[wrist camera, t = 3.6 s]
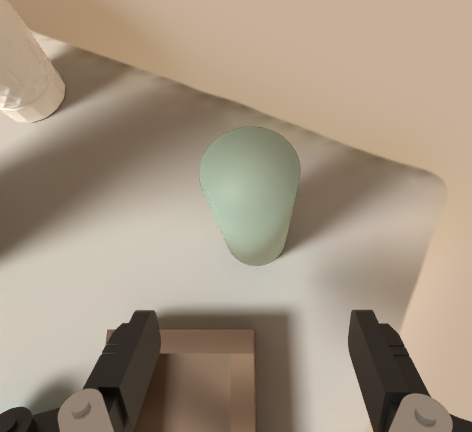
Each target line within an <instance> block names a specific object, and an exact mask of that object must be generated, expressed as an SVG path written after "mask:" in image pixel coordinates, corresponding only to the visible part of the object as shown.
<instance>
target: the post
mask: <svg viewBox="0 0 472 432" xmlns="http://www.w3.org/2000/svg"><path fill="white" fill-rule="evenodd" d="M199 178H200V184H201V187H202V190H203V192H204V194H205V196H206V199H207V201H208V203H209V205H210V208H211V210H212V212H213V214H214V216H215V219H216V221H217V223H218V225H219V228H220V230H221V232H222V234H223V237H224V239H225V241H226V243H227V246H228V248H229V250H230V252H231V253H232V255H233V256H234V257H235V258H236V259H238V260H239V261H240V262H242V263H244V264H247V265H252V266H261V265H265V264H268V263H270V262H272V261H273V260H275V259H276V258H277V257H278V256H279V255H280V254H281V252H282V251H283V249H284V246H285V243H286V239H287V234H288V230H289V225H290V221H291V216H292V212H293V207H294V203H295V198H296V194H297V189H298V185H299V180H300V162H299V158H298V155H297V153H296V151H295V150H294V148H293V146H292V145H291V144H290V143H289V142H288V141H287V140H286V139H285V138H284V137H282V136H281V135H279V134H278V133H276V132H274V131H272V130H269V129H265V128H261V127H242V128H237V129H234V130H231V131H229V132H227V133H224V134H223V135H221V136H220V137H218V138H217V139H216V140H215V141H214V142H213V143H212V144H211V145H210V146H209V147H208V149H207V150H206V152H205V153H204V155H203V158H202V160H201V164H200V170H199Z"/></svg>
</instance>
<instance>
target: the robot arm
mask: <svg viewBox="0 0 472 432" xmlns="http://www.w3.org/2000/svg"><path fill="white" fill-rule="evenodd" d="M348 347H349V353H350V357H351V360H352V363H353V367H354V370H355V373H356V376H357V379H358V383H359V386H360V389H361V392H362V396H363V399H364V402H365V405H366V409H367V412H368V415H369V418H370V422H371V425H372V428H373V431H374V432H472V422H470V421H467V420H464V419H461V418H458V417H455V416H453V415H451V414H449V413H448V411H447V410H446V409H445V408H444V406H443V405H441V404H440V403H439V402H438V401H436V400H435V399H433V398H431V396H430V395H429V393H428V391H427V389H426V387H425V385H424V383H423V381H422V379H421V377H420V375H419V373H418V371H417V369H416V368H415V365H414V363H413V362H412V359H411V358H410V357H409V354H408V352H407V350H406V348H405V347H404V344H403V342H402V340H401V338H400V336H399V334H398V333H397V332H396V331H395V330H394V329H393V328H392V327H391V326H390V325H389V324H379V323H378V320H377V318H376V316H375V314H374V312H373V311H372V310H352V312H351V318H350V326H349V335H348ZM160 349H161V336H160V331H159V326H158V322H157V317H156V313H155V311H154V310H137V311H135V312H134V314H133V316H132V318H131V320H130V322H129V323H122V324H121V325H120V326H119V327H118V328H117V329H116V330H115V331H114V332H113V333H112V335H111V337H110V338H109V340H108V342H107V346H105V348H104V350H103V352H102V355H100V357H99V359H98V361H97V363H96V365H95V367H94V369H93V371H92V372H91V374H90V376H89V378H88V380H87V382H86V384H85V386H84V387H83V389H82V390H80V391H78V392H76V393H74V394H73V395H71V396H70V397H69V398H68V399H67V400H66V401H65V402H64V403H63V404H62V406H61V407H60V408H57V409H54V410H51V411H47V412H44V413H40V414H37V415H32V413H31V411H30V410H29V409H27V408H25V407H16V408H12V409H9V410H7V411H5V412H3V413H2V414H0V432H123V431H126V432H133V431H134V428H135V425H136V422H137V419H138V416H139V413H140V410H141V407H142V404H143V401H144V398H145V395H146V392H147V389H148V386H149V383H150V380H151V377H152V374H153V371H154V368H155V365H156V362H157V359H158V356H159V353H160Z"/></svg>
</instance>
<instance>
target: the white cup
mask: <svg viewBox="0 0 472 432" xmlns="http://www.w3.org/2000/svg"><path fill="white" fill-rule="evenodd" d="M64 95H65V84H64V82H63V80H62V78H61V76H60V75H59V73H58V72H57V71H56V69H55V68H54V67H53V65H52V64H51V63H50V60H49V58H48V57H47V55H46V54H45V52H44V51H43V50H42V48H41V47H40V45H39V44H38V42H37V41H36V39H35V38H34V37H33V35H32V33H31V32H30V31H29V29H28V28H27V26H26V25H25V24H24V22H23V21H22V20H21V18H20V17H19V15H18V14H17V13H16V11H15V10H14V9H13V7H12V6H11V5H10V3H9V2H8V1H7V0H0V111H2V112H3V113H4V114H6V115H7V116H8V117H10V118H12V119H13V120H15V121H16V122H24V123H32V122H36V121H39V120H42V119H45V118H46V117H48V116H49V115H50V114H52V113H53V112H54V111H56V110H57V109H58V107H59V105H60V104H61V102H62V101H63V99H64Z"/></svg>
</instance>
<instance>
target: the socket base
mask: <svg viewBox="0 0 472 432" xmlns="http://www.w3.org/2000/svg"><path fill="white" fill-rule="evenodd" d="M114 331H115V330H107V337H106V346H107V342H108V340H109V338H110V337H111V335H112V333H113V332H114ZM159 331H160V336H161V349H160V353H159V356H158V359H157V362H156V365H155V368H154V371H153V374H152V377H151V380H150V383H149V386H148V389H147V392H146V395H145V398H144V401H143V404H142V407H141V410H140V413H139V416H138V419H137V422H136V425H135V428H134V431H133V432H257V414H256V364H255V329H159ZM123 432H126V431H123Z"/></svg>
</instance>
